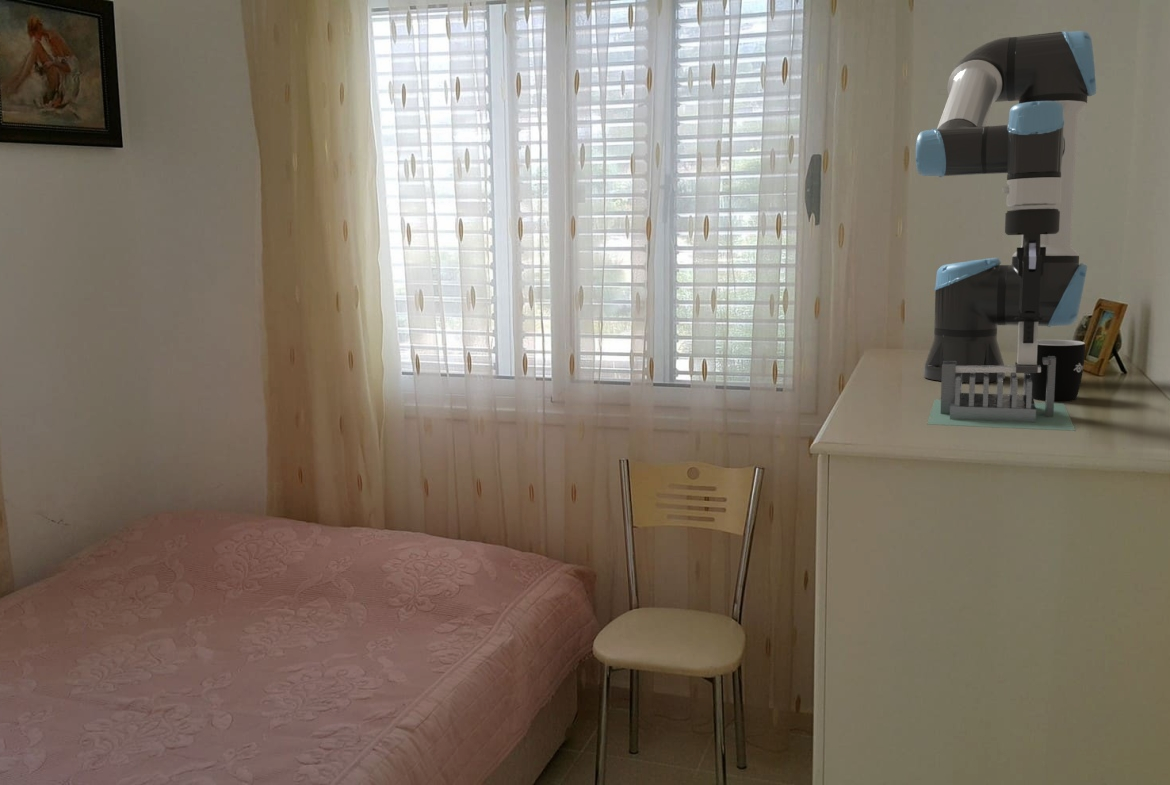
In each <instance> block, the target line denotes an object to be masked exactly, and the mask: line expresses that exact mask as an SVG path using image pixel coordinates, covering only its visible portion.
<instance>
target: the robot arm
mask: <svg viewBox="0 0 1170 785" xmlns="http://www.w3.org/2000/svg"><path fill="white" fill-rule="evenodd" d="M1095 67H1096V66H1095V58H1094V47H1093V40H1092V36H1091V35H1090V34H1089V32H1087V31H1084V30H1076V31H1075V30H1074V31H1070V30H1069V31H1066V30H1061V31H1055V32H1046V33H1038V34H1030V35H1020V36H1019V35H1018V36H1013V37H1011V36H1008V37H1007V36H1005V37H1000V38H997V39H993V40H991V41H988V42H986V43H984V44H982V45H980V46H979V47H977V48H975V49H974V50H972V51H970V52H969V53H968V54H966V55H965V56H964V57H963V58H962V59H961V60H960V61H958V63H957V64H955V66H954V68H953V69H952V71H951V73H950V75H949V78H948V80H947V95H948V98H947V100H946V103H945V106H944V109H943V112H942V114H941V117H940V120H939V122H938V125H937V128H932V129H927V130H923V131H920V132H919V134H918V136H917V138H916V141H915V142H916V143H915V166H916V170H917V172H918V174H919V175H921V176H922V177H939V178H943V177H952V176H953V177H954V176H955V177H956V176H971V175H972V176H973V175H986V174H987V175H991V174H994V175H995V174H997V175H998V174H1006V185H1008V186H1004V187H1002V189H1001V192H1002V193H1003V194H1007V195H1006V200H1005V202H1006V203H1005V205H1006V206H1007V207H1010V210H1007V211H1006V212H1005V213H1004V214H1005V216H1004V217H1005V223H1004V233H1005V235H1007V236H1021V243H1020V245H1021V246H1020V247H1016V251H1014V253H1013V254H1012V256H1011V264H1001V260H1000V258H999V257H991V258H983V259H975V260H968V261H960V262H953V263H947V264H943V265H941V266H940V267H939V268H938V269H937V271H936V275H935V276H936V279H935V285H934V286H935V287H934V289H933V290H934V291H935V292H934V293H935V294H934V296H935V297H934V298H935V300H934V302H935V303H934V326H933V329H934V331H933V332H934V333H933V334H934V335H933V341H932V344H931V347H930V349H929V352H928V354H927V356H926V357H927V358H926V360H925V363H924V366H923V377H924V378H926V379H928V380H933V381H940V382H941V381H942V364H943V361H957V362H956V366H991V365H1005V362H1004V359H1003V356H1002V352H1001V350H1000V345H999V342H998V326H1018V330H1017V331H1018V333H1017V334H1018V335H1017V360H1016V361H1017V364H1021V365H1037V345H1038V340H1039V338H1038V337H1039V327H1047V328H1050V327H1061V326H1062V327H1064V326H1066V327H1068V326H1070V325H1073V324H1074V323H1075V322H1076V321H1077V319H1078V315H1079V312H1080V306H1081V301H1082V298H1083V297H1082V296H1083V293H1084V292H1083V291H1084V286H1085V282H1086V277H1087V276H1086V275H1087V271H1088V266H1087V265H1086V264H1084V263H1083V262H1081V263H1080V254H1079V253H1078V251H1076V249H1075V248H1073V245H1072V229H1073V228H1072V227H1073V213H1074V212H1073V211H1074V210H1073V209H1074V206H1073V205H1074V192H1075V191H1074V190H1075V189H1074V188H1075V187H1074V186H1075V170H1076V169H1075V168H1076V166H1075V165H1076V150H1077V149H1076V148H1077V147H1076V146H1077V131H1078V130H1077V129H1078V127H1077V126H1078V116H1079V114H1080V113H1081V112H1082V111H1083V110H1084V109H1086V108H1087V106H1088V97H1092V96H1094V95H1096V93H1097V83H1096V82H1097V81H1096V70H1095ZM999 102H1001V103H1002V102H1018V103H1017V104H1014V105H1013V106H1012V107H1011V108H1010V109H1009V115H1008V124H1003V125H990V126H989V125H988V126H986V125H987V121H988V119H989V118H988V117H989V115H990V112H991V107H992V105H993V104H994V103H999ZM956 375H957V373H956ZM1002 375H1003V380H1005V378H1006V373H1002ZM969 382H970V373H962V383H969ZM990 382H991V383H992V382H997V373H989V383H990ZM975 383H984V373H975Z"/></svg>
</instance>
